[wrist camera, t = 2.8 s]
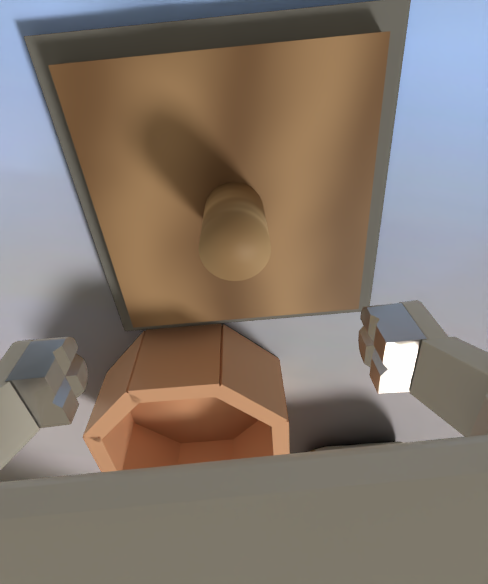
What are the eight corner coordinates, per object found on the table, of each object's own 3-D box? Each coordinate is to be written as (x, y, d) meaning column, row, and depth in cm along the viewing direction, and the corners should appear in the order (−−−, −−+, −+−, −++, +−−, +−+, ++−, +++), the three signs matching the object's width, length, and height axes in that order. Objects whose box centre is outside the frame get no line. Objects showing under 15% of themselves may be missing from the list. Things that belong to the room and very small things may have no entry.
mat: (404, -2, 15) (411, -3, 14) (365, 305, 23) (368, 310, 22) (30, 36, 15) (23, 36, 14) (127, 325, 23) (124, 331, 23)
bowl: (277, 318, 23) (287, 378, 19) (282, 434, 30) (290, 497, 26) (90, 334, 24) (60, 396, 19) (136, 445, 30) (121, 509, 26)
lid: (381, 31, 15) (440, 27, 11) (353, 298, 22) (382, 358, 18) (58, 64, 15) (-9, 71, 11) (136, 316, 22) (115, 379, 18)
